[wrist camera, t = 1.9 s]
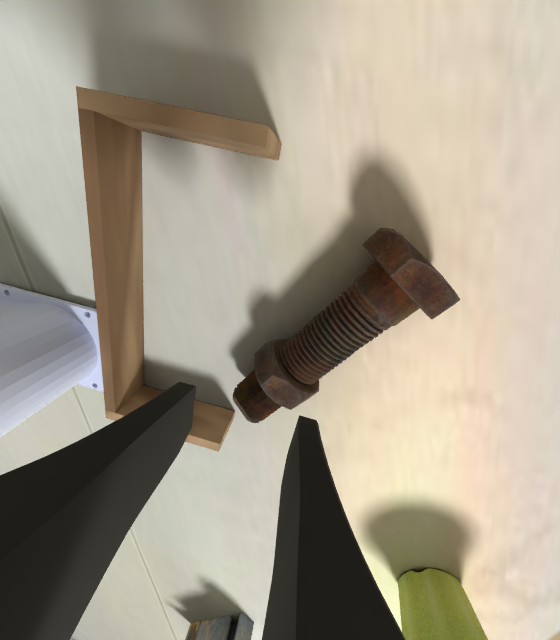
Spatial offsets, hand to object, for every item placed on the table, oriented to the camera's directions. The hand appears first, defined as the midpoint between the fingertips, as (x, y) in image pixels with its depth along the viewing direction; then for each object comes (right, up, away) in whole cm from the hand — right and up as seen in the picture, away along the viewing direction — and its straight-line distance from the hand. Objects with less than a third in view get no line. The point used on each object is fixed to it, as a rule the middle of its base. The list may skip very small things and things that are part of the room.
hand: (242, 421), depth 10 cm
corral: (-5, +5, +9) cm, 12 cm away
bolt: (+4, +3, +9) cm, 11 cm away
